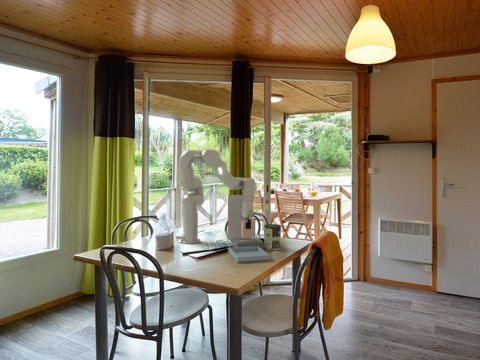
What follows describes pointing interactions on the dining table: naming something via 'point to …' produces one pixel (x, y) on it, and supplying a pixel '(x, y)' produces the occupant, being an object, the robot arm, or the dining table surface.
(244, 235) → the pink rectangular block
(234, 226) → the tall white slab
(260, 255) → the tray
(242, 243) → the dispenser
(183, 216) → the robot arm
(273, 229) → the coffee can
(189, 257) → the dining table surface
